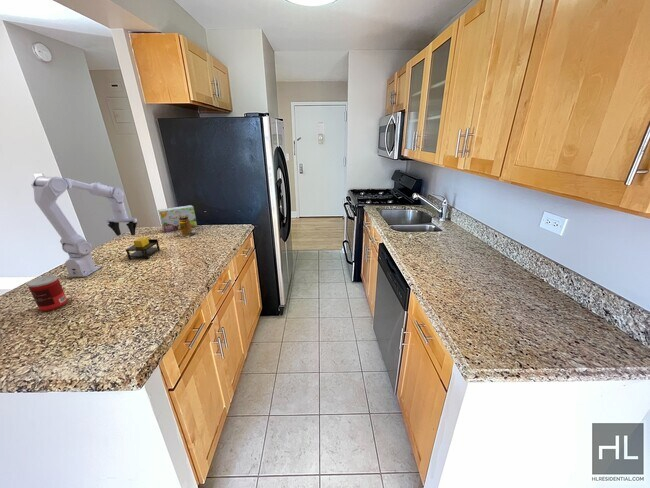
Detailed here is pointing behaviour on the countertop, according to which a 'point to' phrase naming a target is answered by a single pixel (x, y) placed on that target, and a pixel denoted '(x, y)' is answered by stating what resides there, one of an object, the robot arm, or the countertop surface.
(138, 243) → the yellow block
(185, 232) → the condiment
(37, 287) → the canned food
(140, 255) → the rack
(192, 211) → the snack box
